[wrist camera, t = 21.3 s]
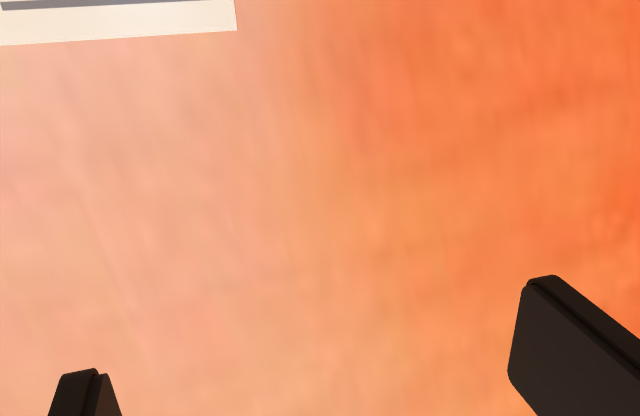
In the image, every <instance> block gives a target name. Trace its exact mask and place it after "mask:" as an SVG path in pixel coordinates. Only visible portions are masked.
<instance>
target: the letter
mask: <svg viewBox="0 0 640 416" xmlns="http://www.w3.org/2000/svg"><path fill="white" fill-rule="evenodd" d="M233 30H237V25H236V16H235V7H234V0H0V46H5V45H20V44H35V43H50V42H65V41H81V40H96V39H111V38H126V37H141V36H157V35H172V34H187V33H202V32H217V31H233Z"/></svg>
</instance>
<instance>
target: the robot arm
mask: <svg viewBox="0 0 640 416" xmlns="http://www.w3.org/2000/svg"><path fill="white" fill-rule="evenodd" d="M507 372H508V377H509V380H510V382H511V383H512V385H513V386H514V387H515V389H516V390H517V391H518V392H519V394H520V395H521V396H522V397H523V398H524V400H525V401H526V402H527V403H528V404H529V406H530V407H531V408H532V409H533V411H534V412H535V413H536V414H537V415H538V416H640V339H639V338H637V337H636V336H635V335H633V334H632V333H631V332H630V331H628V330H627V329H626V328H624V327H623V326H622V325H620V324H619V323H618V322H617V321H615V320H614V319H613V318H611V317H610V316H609V315H608V314H606V313H605V312H604V311H602V310H601V309H600V308H599V307H597V306H596V305H595V304H593V303H592V302H591V301H589V300H588V299H587V298H586V297H584V296H583V295H582V294H580V293H579V292H578V291H577V290H575V289H574V288H573V287H571V286H570V285H569V284H568V283H566V282H565V281H564V280H562V279H561V278H560V277H558V276H556V275H547V276H542V277H538V278H533V279H530V280H529V281H528V282H527V284H526V286H525V287H524V288H523V289H522V292H521V297H520V303H519V308H518V314H517V319H516V325H515V330H514V336H513V341H512V347H511V352H510V357H509V363H508V369H507ZM48 416H122V414H121V411H120V408H119V405H118V402H117V399H116V396H115V393H114V390H113V387H112V384H111V381H110V378H109V376H108V374H107V373H105V374H100V375H99V373H98V371H97V370H96V369H95V368H91V369H87V370H82V371H77V372H72V373H67V374H63V375H62V376H61V378H60V380H59V383H58V386H57V389H56V392H55V395H54V398H53V401H52V404H51V407H50V410H49V413H48Z"/></svg>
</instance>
